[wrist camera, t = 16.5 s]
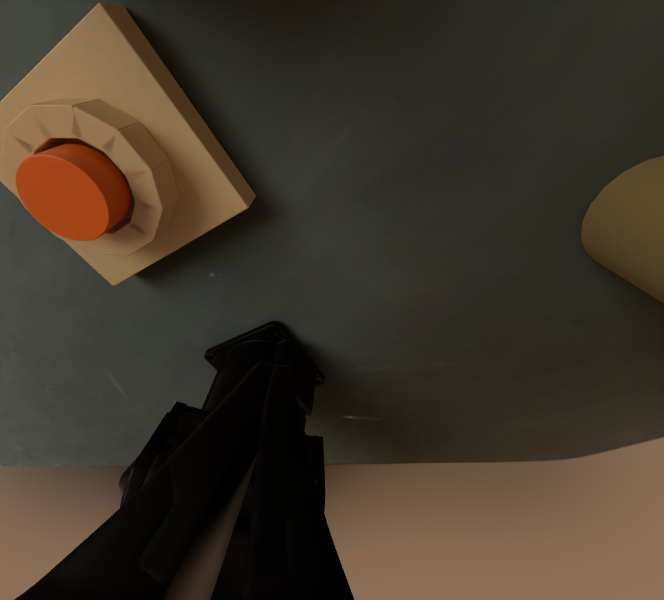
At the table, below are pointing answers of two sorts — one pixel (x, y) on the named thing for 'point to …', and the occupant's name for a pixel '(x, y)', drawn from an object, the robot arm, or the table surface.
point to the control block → (124, 140)
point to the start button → (73, 191)
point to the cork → (630, 227)
